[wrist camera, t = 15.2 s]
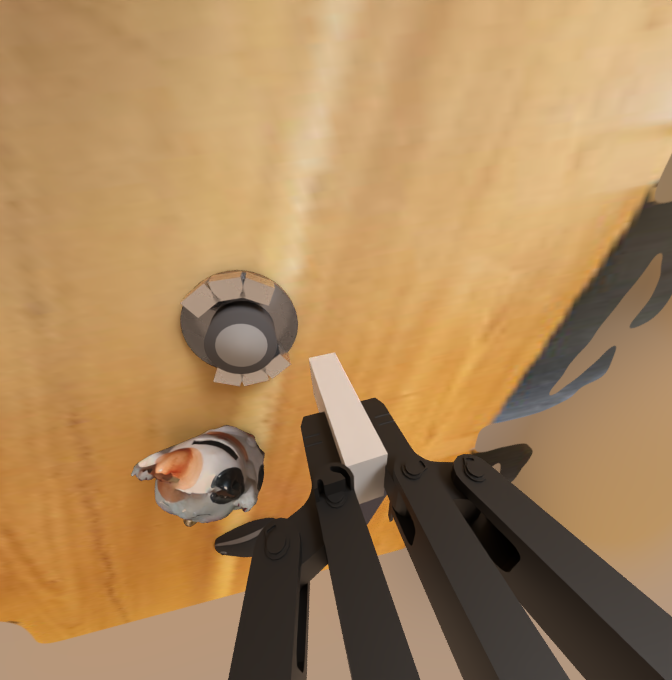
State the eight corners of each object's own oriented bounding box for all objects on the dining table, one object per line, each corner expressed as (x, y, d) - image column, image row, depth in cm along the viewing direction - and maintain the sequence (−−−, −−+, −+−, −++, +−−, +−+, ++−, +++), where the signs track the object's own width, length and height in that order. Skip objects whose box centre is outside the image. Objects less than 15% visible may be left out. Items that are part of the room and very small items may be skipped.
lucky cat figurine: (149, 476, 35) (70, 557, 22) (191, 401, 37) (142, 432, 23) (245, 509, 38) (228, 598, 25) (281, 438, 40) (283, 485, 26)
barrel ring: (303, 356, 33) (308, 371, 30) (205, 377, 31) (200, 396, 28) (287, 262, 27) (291, 269, 24) (162, 280, 24) (149, 290, 21)
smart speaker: (206, 350, 28) (199, 370, 25) (215, 293, 26) (209, 306, 22) (267, 359, 31) (268, 377, 28) (280, 308, 28) (284, 322, 25)
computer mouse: (209, 535, 47) (206, 561, 43) (273, 511, 49) (274, 533, 45) (223, 550, 50) (221, 575, 47) (281, 527, 52) (283, 549, 49)
